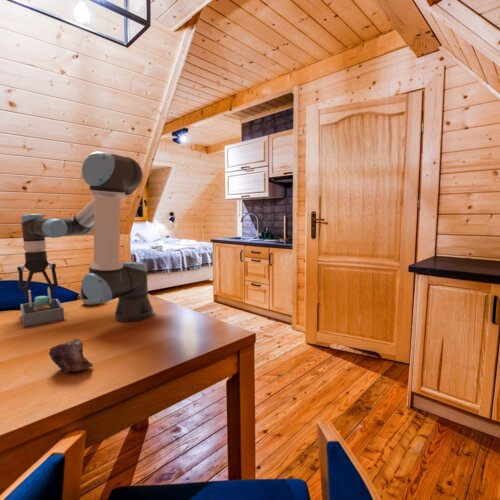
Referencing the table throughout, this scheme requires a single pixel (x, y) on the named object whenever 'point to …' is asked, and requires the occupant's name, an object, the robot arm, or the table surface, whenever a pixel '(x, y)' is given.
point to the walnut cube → (41, 308)
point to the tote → (42, 314)
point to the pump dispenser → (85, 298)
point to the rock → (69, 356)
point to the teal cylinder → (41, 300)
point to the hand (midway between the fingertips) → (40, 304)
